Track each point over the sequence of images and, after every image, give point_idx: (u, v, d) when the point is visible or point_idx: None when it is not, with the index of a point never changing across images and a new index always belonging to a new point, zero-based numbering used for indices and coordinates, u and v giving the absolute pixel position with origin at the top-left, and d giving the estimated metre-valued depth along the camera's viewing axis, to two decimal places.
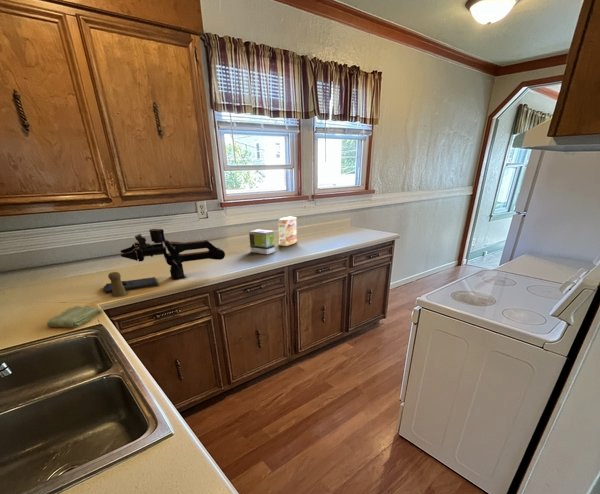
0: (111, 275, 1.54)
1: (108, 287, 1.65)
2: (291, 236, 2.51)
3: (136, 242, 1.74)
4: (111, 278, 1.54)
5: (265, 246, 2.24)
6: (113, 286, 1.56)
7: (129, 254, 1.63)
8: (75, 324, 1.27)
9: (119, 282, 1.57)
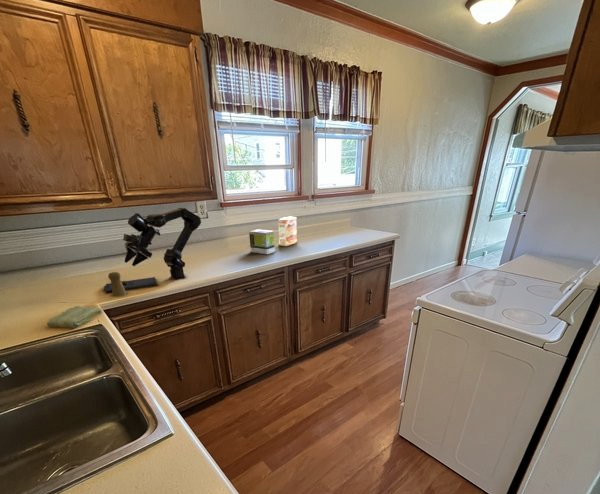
0: (111, 275, 1.54)
1: (108, 287, 1.65)
2: (291, 236, 2.51)
3: (125, 243, 1.63)
4: (111, 278, 1.54)
5: (266, 246, 2.24)
6: (113, 286, 1.56)
7: (138, 258, 1.56)
8: (75, 324, 1.27)
9: (119, 282, 1.57)
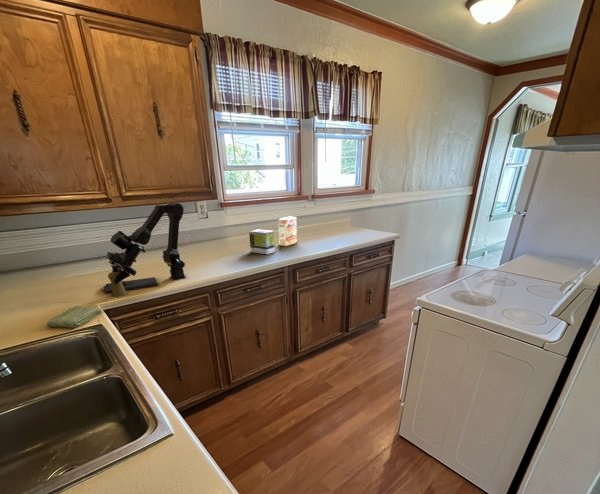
0: (111, 275, 1.54)
1: (108, 287, 1.65)
2: (291, 236, 2.51)
3: (110, 260, 1.60)
4: (111, 278, 1.54)
5: (266, 246, 2.24)
6: (113, 286, 1.56)
7: (120, 276, 1.55)
8: (75, 324, 1.27)
9: (119, 282, 1.57)
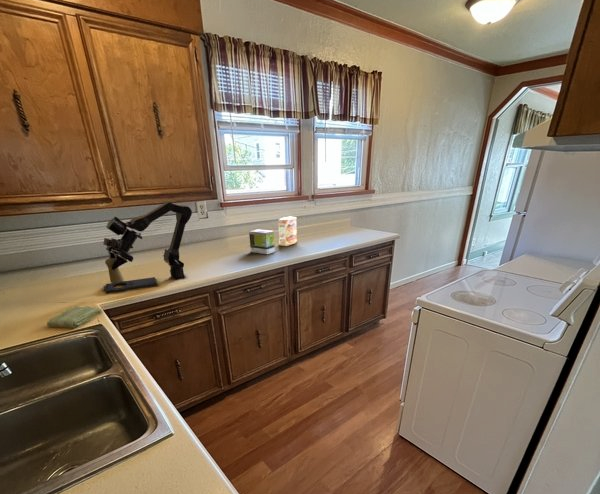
0: (108, 261, 1.55)
1: (108, 287, 1.65)
2: (291, 236, 2.51)
3: (107, 247, 1.61)
4: (108, 264, 1.55)
5: (266, 246, 2.24)
6: (110, 272, 1.57)
7: (117, 262, 1.56)
8: (75, 324, 1.27)
9: (116, 268, 1.58)
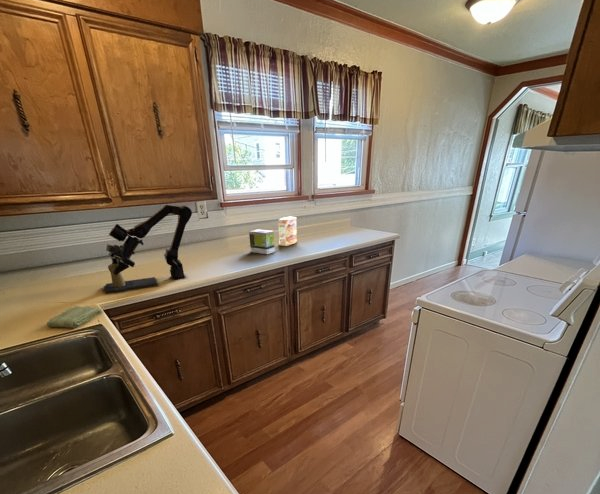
0: (111, 266, 1.61)
1: (108, 287, 1.65)
2: (291, 236, 2.51)
3: (109, 253, 1.68)
4: (111, 269, 1.61)
5: (266, 246, 2.24)
6: (113, 277, 1.64)
7: (119, 267, 1.62)
8: (75, 324, 1.27)
9: (118, 273, 1.64)
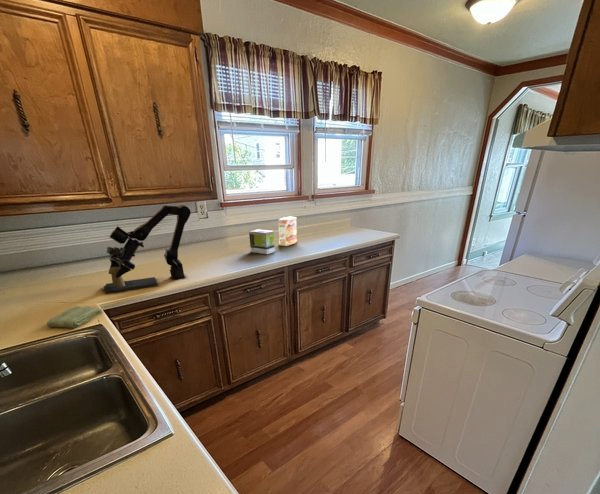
0: (112, 270, 1.62)
1: (108, 287, 1.65)
2: (291, 236, 2.51)
3: (110, 255, 1.68)
4: (112, 272, 1.62)
5: (266, 246, 2.24)
6: (114, 280, 1.64)
7: (121, 270, 1.61)
8: (75, 324, 1.27)
9: None
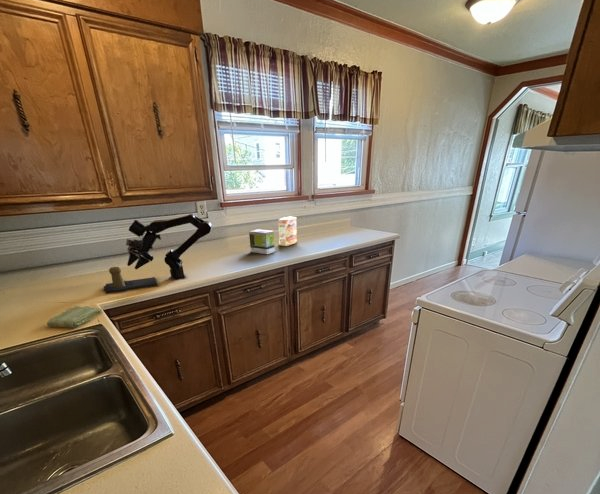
0: (112, 270, 1.62)
1: (108, 287, 1.65)
2: (291, 236, 2.51)
3: (128, 247, 1.73)
4: (112, 272, 1.62)
5: (266, 246, 2.24)
6: (114, 280, 1.64)
7: (140, 262, 1.66)
8: (75, 324, 1.27)
9: (119, 276, 1.65)
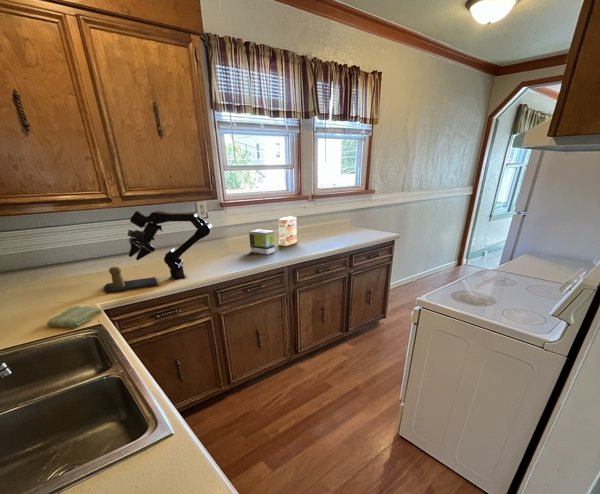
0: (112, 269, 1.62)
1: (108, 287, 1.65)
2: (291, 236, 2.51)
3: (130, 238, 1.72)
4: (112, 272, 1.62)
5: (266, 246, 2.24)
6: (114, 280, 1.64)
7: (141, 253, 1.66)
8: (75, 324, 1.27)
9: (119, 276, 1.65)
